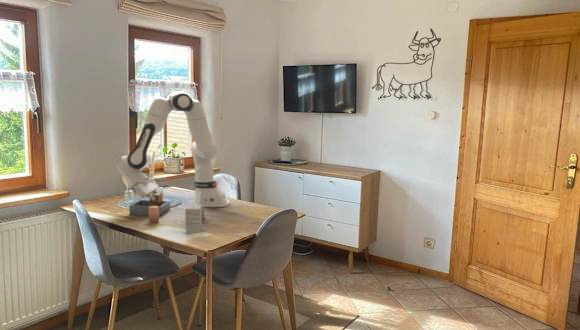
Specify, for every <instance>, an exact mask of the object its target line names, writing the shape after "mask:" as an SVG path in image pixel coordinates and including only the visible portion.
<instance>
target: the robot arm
mask: <svg viewBox="0 0 580 330" xmlns="http://www.w3.org/2000/svg"><path fill="white" fill-rule="evenodd" d="M173 111H175V112H184V113H185V116H186V121H187V125H188V129H189V133H190V135H191V137H192V139H193V142H192V143H191V144H190V145H191V146H190V150H191V153H192V158H193V163H194V164H193V165H194V170H195V171H194V175H195V176H194V186H193V188H194V197H193V201H192V205H195V204H201V205H203V206H204V208H208V207H209V208H224V207H227V206H229V205H230V204H231V203H230V200H229V199H227V197H226V196H227V195H226V192H224V191H223V190H221V189H220V188H219V187H217V186H218V181H216V180H214V166H213V163H212V162H213V161H212V160H214V159H215V158H217V156H218V154H219V148H218V147H217V146H216V143H215V141H214V138H213V136H212V133H211V131H210V129H209V125H208V120H207V117H206V113H205V110H204V107H203V104H202V103H201V101H199V100H198V99H192V98H191V96H190V95H189V94H188V93H186V92H184V91H173V92H170V93H168V94H167V95H165V97H161V96H159V97H156V98H154V99H153V101H152V103H151V105H150V106H149V108H148V111H147V113H146V115H145V116H146V117H145V120H144V123H143V127H142V129H141V133H140V135H139V138H138V139H137V140H138V141H137V142H136V145H135V147H134V148H133V149H132V151H130V152H129V154H128V155H123V156H121V157H120V158H119V159H118V160H117V162H116V164H115V165H116V166H115V167H116V169H117V171H118V172H119V173H120V174H121V175H122V177H124V178H125V179H127V180H128V182H129V183H130V184H131V185H132V186H133V189H134V191H135V192H136V194H137V195H138V196H139V197H140V198H142V199H144V198H146V197H147V198H148V199H149V200H150V199H152V200H153V201H155V200H156V198H155V197H154V196H152V195H151V194H152V193H159V192H158V189H159V188H160V186H159V184H157V182H156V181H155V180H154V179H153V178H151V175H150V174H148V173H144V172H143V171H142V170H143V169H146V168H148V166H149V165H150V164H151V161H152V158H151V155H150V154H149V153H148V151H149V147H150V146H151V145H150V144H151V142H152V140H153V138H154V137H155V136H156V135H157V134H159V133H160V132H161V131H162V130H164V127H165V125H166V124H167V123H166V122H167V120H168V117H169V115H170V114H171V112H173Z"/></svg>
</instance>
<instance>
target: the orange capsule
mask: <svg viewBox="0 0 580 330" xmlns="http://www.w3.org/2000/svg"><path fill="white" fill-rule="evenodd" d="M159 222H160V216H159V206H149V215H148V223H150V224H157V223H159Z"/></svg>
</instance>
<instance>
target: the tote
mask: <svg viewBox="0 0 580 330" xmlns="http://www.w3.org/2000/svg"><path fill="white" fill-rule="evenodd" d="M149 206H150V199H138V200H136V201H135V202H133V203H132V204H130V205H129V215H134V216H135V215H136V216H149ZM170 209H171V201H170V200H162V206H160V207H159V217H162V216H163V215H165V214H166V213H167V212H168V211H170Z"/></svg>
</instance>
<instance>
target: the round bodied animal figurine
mask: <svg viewBox="0 0 580 330" xmlns="http://www.w3.org/2000/svg"><path fill="white" fill-rule="evenodd" d="M195 205H201V204H195ZM205 208H206V207H204V206H203V205H202V220H205V219H206V214H205V212H206V209H205Z"/></svg>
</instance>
